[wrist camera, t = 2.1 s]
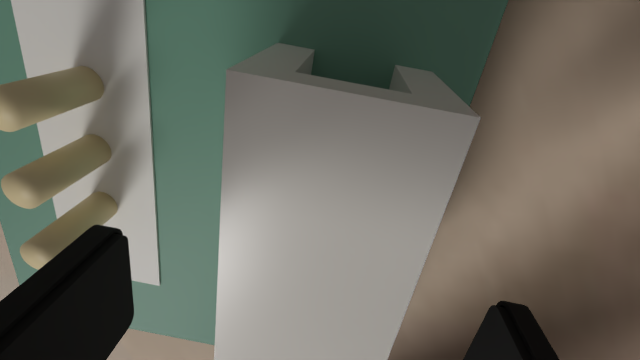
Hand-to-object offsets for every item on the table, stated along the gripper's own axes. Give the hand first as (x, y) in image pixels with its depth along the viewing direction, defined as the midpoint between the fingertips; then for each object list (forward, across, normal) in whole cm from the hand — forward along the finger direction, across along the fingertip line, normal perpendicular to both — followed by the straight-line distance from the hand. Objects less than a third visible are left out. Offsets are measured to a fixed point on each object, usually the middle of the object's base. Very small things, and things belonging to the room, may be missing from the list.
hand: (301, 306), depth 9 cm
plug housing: (+5, 0, +2) cm, 5 cm away
